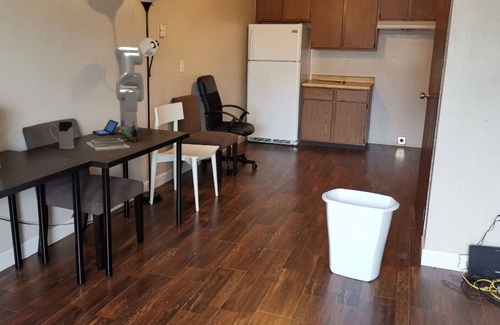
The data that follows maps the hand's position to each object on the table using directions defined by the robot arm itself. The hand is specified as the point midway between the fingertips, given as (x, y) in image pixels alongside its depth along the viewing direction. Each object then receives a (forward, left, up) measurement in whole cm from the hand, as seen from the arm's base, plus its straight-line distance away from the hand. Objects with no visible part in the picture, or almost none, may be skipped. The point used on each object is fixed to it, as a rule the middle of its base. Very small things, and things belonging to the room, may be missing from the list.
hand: (132, 135), depth 300 cm
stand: (+10, -19, -3) cm, 22 cm away
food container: (0, 0, -4) cm, 4 cm away
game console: (-31, -8, -4) cm, 32 cm away
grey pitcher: (+3, -44, -4) cm, 44 cm away
